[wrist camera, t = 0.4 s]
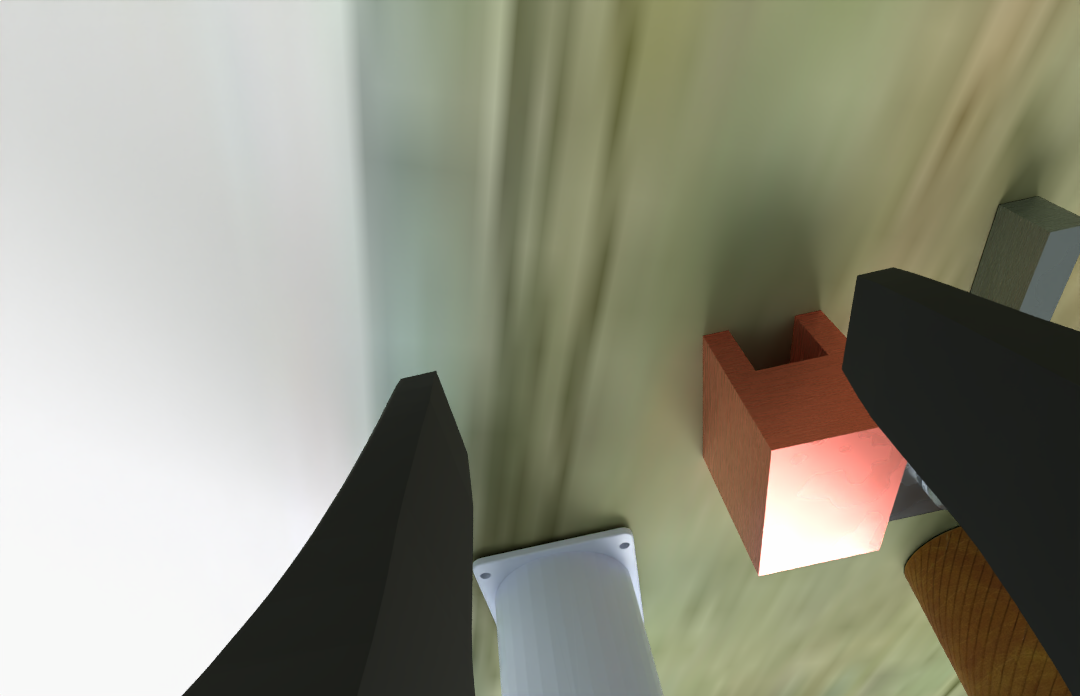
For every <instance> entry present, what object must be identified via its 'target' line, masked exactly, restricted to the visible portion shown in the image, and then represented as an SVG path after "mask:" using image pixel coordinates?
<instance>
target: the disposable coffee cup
mask: <svg viewBox="0 0 1080 696" xmlns="http://www.w3.org/2000/svg"><path fill="white" fill-rule="evenodd" d="M904 574H905V577H906V579H907V581H908V582H909V584H910V586H911V588H912V590H913V592H914V594H915V596H916V598H917V599H918V601H919V603H920V605H921V607H922V609H923V611H924V613H925V614H926V616H927V618H928V620H929V622H930V624H931V626H932V628H933V630H934V632H935V634H936V635H937V637H938V640H939V642H940V644H941V645H942V647H943V649H944V651H945V653H946V655H947V657H948V658H949V660H950V662H951V664H952V666H953V668H954V670H955V672H956V674H957V676H958V678H959V680H960V682H961V683H962V685H963V687H964V689H965V691H966V693H967V695H968V696H1072V694H1071V692H1070V691H1069V689H1068V687H1067V686H1066V684H1065V682H1064V680H1063V679H1062V677H1061V675H1060V674H1059V672H1058V670H1057V669H1056V667H1055V665H1054V664H1053V662H1052V661H1051V659H1050V657H1049V656H1048V654H1047V653H1046V651H1045V649H1044V648H1043V646H1042V645H1041V643H1040V642H1039V640H1038V638H1037V637H1036V635H1035V634H1034V632H1033V631H1032V629H1031V627H1030V626H1029V624H1028V623H1027V621H1026V619H1025V618H1024V616H1023V615H1022V613H1021V612H1020V610H1019V608H1018V607H1017V605H1016V604H1015V602H1014V601H1013V599H1012V598H1011V596H1010V595H1009V593H1008V592H1007V590H1006V589H1005V588H1004V586H1003V585H1002V583H1001V582H1000V580H999V579H998V577H997V576H996V574H995V573H994V571H993V570H992V568H991V567H990V565H989V564H988V562H987V561H986V559H985V558H984V556H983V555H982V553H981V552H980V551H979V549H978V548H977V546H976V545H975V544H974V543H973V541H972V540H971V539H970V537H969V536H968V535H967V533H966V532H965V531H964V530H963V528H962V527H961V526H960V527H958V528H955V529H952V530H950V531H947V532H945V533H943V534H941V535H939V536H937V537H935V538H934V539H932V540H931V541H929V542H927V543H926V544H925V545H923V546H922V547H921V548H919V549H918V550H917V551H916V552H915V553H914V554H913V555H912V556H911V558H910V559H909V560H908V562H907V564H906V566H905V572H904Z"/></svg>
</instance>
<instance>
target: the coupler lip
mask: <svg viewBox="0 0 1080 696" xmlns="http://www.w3.org/2000/svg"><path fill="white" fill-rule="evenodd" d="M1079 254H1080V216H1078V215H1076V214H1074V213H1072V212H1069V211H1067V210H1065V209H1063V208H1061V207H1059V206H1057V205H1055V204H1053V203H1051V202H1049V201H1047V200H1045V199H1043V198H1041V197H1039V196H1037V197H1033V198H1028V199H1024V200H1019V201H1014V202H1010V203H1005V204H1001V205H999V207H998V210H997V213H996V216H995V219H994V222H993V225H992V228H991V231H990V234H989V238H988V241H987V244H986V247H985V250H984V253H983V256H982V259H981V262H980V265H979V268H978V271H977V274H976V277H975V280H974V283H973V286H972V289H971V292H970V293H972V294H974V295H977V296H980V297H983V298H985V299H988V300H991V301H994V302H996V303H999V304H1002V305H1005V306H1007V307H1010V308H1013V309H1016V310H1019V311H1021V312H1024V313H1027V314H1030V315H1033V316H1035V317H1038V318H1041V319H1044V320H1047V321H1050V320H1051V317H1052V315H1053V313H1054V310H1055V308H1056V306H1057V304H1058V301H1059V299H1060V297H1061V295H1062V292H1063V290H1064V288H1065V286H1066V283H1067V281H1068V279H1069V277H1070V274H1071V272H1072V270H1073V268H1074V265H1075V263H1076V261H1077V259H1078V256H1079ZM939 510H947V509H946V508H945V506H944V505H943V504H942V503H941V502H940V500H939V499H938V498H937V497H936V496H935V494H934V493H933V492H932V491H931V490H930V488H929V487H928V486H927V485H926V484H925V482H924V481H923V480H922V479H921V478H920V476H919V475H918V474H917V473H916V472H915V470H914V469H913V468H912V467H911V466H910V464H909V463H908V462H907V464H906V467H905V470H904V473H903V476H902V479H901V482H900V486H899V489H898V492H897V495H896V498H895V501H894V505H893V508H892V511H891V514H890V517H889V520H888V521H893V520H898V519H902V518H907V517H911V516H916V515H921V514H925V513H930V512H935V511H939Z"/></svg>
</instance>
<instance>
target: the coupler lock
mask: <svg viewBox="0 0 1080 696" xmlns="http://www.w3.org/2000/svg"><path fill="white" fill-rule="evenodd" d="M846 340H847V338H846V337H845V336H844V335H843V334H842V333H841V332H840V331H839V329H838V328H837V327H836V326H835V325H834V324H833V323H832V322H831V321H830V320H829V319H828V318H827V317H826V315H825V314H824V313H823V312H822V311H821V310H819V311H815V312H810V313H806V314H801V315H796V316H795V320H794V329H793V338H792V347H791V355H790V364H785V365H781V366H776V367H771V368H767V369H762V370H758V371H755V369H754V368H753V366H752V365H751V363H750V362H749V360H748V359H747V357H746V356H745V354H744V353H743V351H742V350H741V348H740V347H739V345H738V344H737V342H736V341H735V339H734V338H733V336H732V335H731V333H730V332H729V330H727V331H723V332H718V333H714V334H709V335H704V336H703V458H704V460H705V462H706V464H707V467H708V469H709V471H710V473H711V475H712V477H713V479H714V481H715V484H716V486H717V488H718V490H719V492H720V494H721V496H722V499H723V501H724V503H725V505H726V507H727V509H728V511H729V514H730V516H731V518H732V520H733V522H734V524H735V526H736V528H737V531H738V533H739V535H740V537H741V539H742V541H743V543H744V546H745V548H746V550H747V552H748V554H749V556H750V558H751V561H752V563H753V565H754V567H755V569H756V571H757V573H758V576H761V575H765V574H770V573H775V572H779V571H784V570H789V569H793V568H798V567H802V566H807V565H812V564H816V563H821V562H825V561H830V560H835V559H839V558H844V557H849V556H853V555H858V554H862V553H867V552H872V551H876V550H879V549H880V546H881V542H882V539H883V536H884V533H885V530H886V527H887V523H888V520H889V517H890V514H891V511H892V508H893V505H894V501H895V498H896V495H897V492H898V489H899V486H900V482H901V479H902V476H903V473H904V470H905V467H906V464H907V461H906V460H905V458H904V457H903V456H902V455H901V454H900V452H899V451H898V450H897V449H896V448H895V446H894V445H893V444H892V443H891V441H890V440H889V439H888V438H887V437H886V435H885V434H884V433H883V432H882V430H881V429H880V428H879V427H878V425H877V424H876V423H875V422H874V420H873V419H872V418H871V417H870V415H869V413H868V412H867V410H866V409H865V407H864V406H863V404H862V403H861V401H860V399H859V398H858V396H857V395H856V393H855V391H854V389H853V388H852V386H851V384H850V383H849V381H848V379H847V378H846V376H845V374H844V372H843V371H842V363H843V357H844V352H845V346H846Z"/></svg>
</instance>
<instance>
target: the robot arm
mask: <svg viewBox="0 0 1080 696" xmlns="http://www.w3.org/2000/svg"><path fill="white" fill-rule="evenodd" d="M842 371H843V372H844V374H845V376H846V378H847V379H848V381H849V383H850V384H851V386H852V388H853V389H854V391H855V393H856V395H857V396H858V398H859V399H860V401H861V403H862V404H863V406H864V407H865V409H866V410H867V412H868V413H869V415H870V417H871V418H872V419H873V420H874V422H875V423H876V424H877V425H878V427H879V428H880V429H881V430H882V432H883V433H884V434H885V435H886V437H887V438H888V439H889V440H890V441H891V443H892V444H893V445H894V446H895V448H896V449H897V450H898V451H899V452H900V454H901V455H902V456H903V457H904V458H905V460H906V461H907V462H908V463H909V464H910V466H911V467H912V468H913V469H914V470H915V472H916V473H917V474H918V475H919V476H920V478H921V479H922V480H923V481H924V482H925V484H926V485H927V486H928V487H929V488H930V490H931V491H932V492H933V493H934V494H935V496H936V497H937V498H938V499H939V500H940V502H941V503H942V504H943V505H944V506H945V508H946V509H947V510H948V511H949V512H950V514H951V515H952V516H953V517H954V518H955V519H956V521H957V522H958V523H959V524H960V526H961V527H962V528H963V530H964V531H965V532H966V533H967V535H968V536H969V537H970V539H971V540H972V541H973V543H974V544H975V545H976V546H977V548H978V549H979V551H980V552H981V553H982V555H983V556H984V558H985V559H986V561H987V562H988V564H989V565H990V567H991V568H992V570H993V571H994V573H995V574H996V576H997V577H998V579H999V580H1000V582H1001V583H1002V585H1003V586H1004V588H1005V589H1006V590H1007V592H1008V593H1009V595H1010V596H1011V598H1012V599H1013V601H1014V602H1015V604H1016V605H1017V607H1018V608H1019V610H1020V612H1021V613H1022V615H1023V616H1024V618H1025V619H1026V621H1027V623H1028V624H1029V626H1030V627H1031V629H1032V631H1033V632H1034V634H1035V635H1036V637H1037V638H1038V640H1039V642H1040V643H1041V645H1042V646H1043V648H1044V649H1045V651H1046V653H1047V654H1048V656H1049V657H1050V659H1051V661H1052V662H1053V664H1054V665H1055V667H1056V669H1057V670H1058V672H1059V674H1060V675H1061V677H1062V679H1063V680H1064V682H1065V684H1066V686H1067V687H1068V689H1069V691H1070V692H1071V694H1072V696H1080V332H1079V331H1076V330H1073V329H1071V328H1068V327H1065V326H1062V325H1059V324H1056V323H1053V322H1050V321H1047V320H1044V319H1041V318H1038V317H1035V316H1033V315H1030V314H1027V313H1024V312H1021V311H1019V310H1016V309H1013V308H1010V307H1007V306H1005V305H1002V304H999V303H996V302H994V301H991V300H988V299H985V298H983V297H980V296H977V295H974V294H972V293H969V292H966V291H963V290H961V289H958V288H955V287H952V286H949V285H947V284H944V283H941V282H938V281H935V280H932V279H929V278H926V277H923V276H920V275H917V274H914V273H911V272H908V271H904V270H901V269H897V268H889V269H884V270H880V271H876V272H871V273H867V274H862V275H858V276H857V280H856V286H855V292H854V298H853V304H852V310H851V316H850V322H849V328H848V334H847V340H846V346H845V352H844V357H843V363H842ZM472 569H473V573H474V575H475V577H476V579H477V582H478V584H479V586H480V589H481V591H482V593H483V595H484V598H485V600H486V602H487V605H488V607H489V609H490V611H491V614H492V616H493V618H494V621H495V623H496V625H497V635H498V649H499V663H500V677H501V691H502V696H664V695H663V691H662V688H661V684H660V681H659V677H658V673H657V670H656V666H655V662H654V659H653V655H652V652H651V648H650V644H649V641H648V637H647V634H646V630H645V626H644V617H643V609H642V601H641V593H640V585H639V577H638V569H637V562H636V554H635V546H634V538H633V534H632V531H631V529H629V528H626V527H622V528H617V529H612V530H607V531H603V532H598V533H594V534H589V535H584V536H580V537H575V538H571V539H566V540H561V541H557V542H552V543H547V544H543V545H538V546H534V547H529V548H524V549H520V550H515V551H511V552H506V553H501V554H497V555H492V556H487V557H483V558H479V559H477V560H475V561H474V562H473V500H472V490H471V480H470V472H469V463H468V454H467V451H466V448H465V446H464V443H463V440H462V438H461V435H460V432H459V430H458V427H457V425H456V422H455V419H454V417H453V414H452V411H451V409H450V406H449V404H448V401H447V398H446V396H445V393H444V390H443V388H442V385H441V382H440V380H439V377H438V375H437V372H436V371H434V372H429V373H425V374H420V375H416V376H412V377H407V378H403V379H401V380H400V381H399V383H398V384H397V386H396V388H395V389H394V391H393V393H392V395H391V397H390V399H389V401H388V403H387V405H386V407H385V409H384V411H383V413H382V415H381V417H380V419H379V421H378V423H377V425H376V427H375V428H374V430H373V432H372V434H371V436H370V438H369V440H368V442H367V444H366V445H365V447H364V449H363V451H362V453H361V454H360V456H359V458H358V460H357V461H356V463H355V465H354V467H353V469H352V470H351V472H350V474H349V476H348V477H347V479H346V481H345V483H344V484H343V486H342V488H341V489H340V491H339V492H338V494H337V496H336V497H335V499H334V500H333V502H332V504H331V505H330V507H329V508H328V510H327V512H326V513H325V515H324V516H323V518H322V519H321V521H320V523H319V524H318V526H317V527H316V529H315V531H314V532H313V534H312V535H311V537H310V538H309V539H308V541H307V542H306V544H305V545H304V547H303V548H302V550H301V551H300V553H299V554H298V555H297V557H296V558H295V560H294V561H293V562H292V564H291V565H290V567H289V568H288V569H287V571H286V572H285V573H284V575H283V576H282V577H281V579H280V580H279V581H278V583H277V584H276V585H275V587H274V588H273V590H272V591H271V592H270V593H269V595H268V596H267V597H266V599H265V600H264V601H263V602H262V604H261V605H260V606H259V607H258V609H257V610H256V611H255V612H254V613H253V615H252V616H251V617H250V618H249V619H248V620H247V622H246V623H245V624H244V625H243V626H242V628H241V629H240V630H239V631H238V632H237V634H236V635H235V636H234V637H233V638H232V639H231V641H230V642H229V643H228V644H227V645H226V647H225V648H224V649H223V650H222V651H221V652H220V654H219V655H218V656H217V657H216V658H215V660H214V661H213V662H212V663H211V664H210V665H209V667H208V668H207V669H206V670H205V671H204V672H203V673H202V674H201V676H200V677H199V678H198V679H197V680H196V681H195V682H194V683H193V684H192V685H191V686H190V688H189V689H188V690H187V691H186V692H185V693H184V694H183V695H182V696H475V689H474V677H473V664H472Z"/></svg>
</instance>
